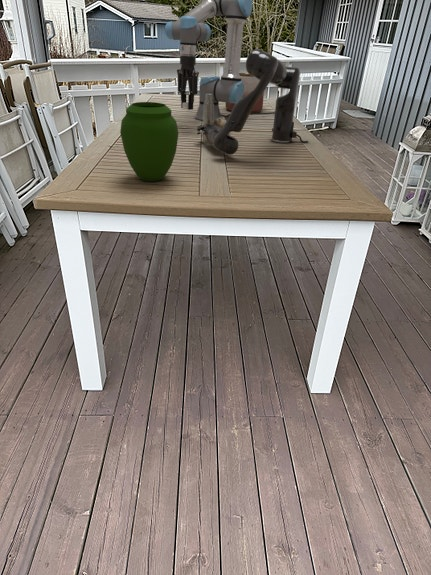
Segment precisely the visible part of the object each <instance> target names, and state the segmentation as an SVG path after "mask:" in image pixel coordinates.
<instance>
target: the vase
mask: <svg viewBox="0 0 431 575" xmlns="http://www.w3.org/2000/svg"><path fill="white" fill-rule="evenodd" d="M125 113H126V114H125V115H124V117H122V119H121V122H120V123H121V124H120V130H119V133H120V138H121V142H122V147H123V150H124V154H125V155H126V158H127V160H128V163H129V165H130V167H131V168H132V170H133V172H134V173H135V175H136V176H137V177H138V178H139V179H141V180H143V181H145V182H159V181H161V180H163V179H164V178H165V176H166V175H167V174H168V173H169V170H170V169H171V167H172V165H173V162H174V159H175V157H176V156H175V155H176V153H177V147H178V140H179V129H178V122H177V120H176V119H175V117H174V116H173V115H172V109H171V108H170V107H169V106H167V105H166V104H164V103H162V102H155V101H138V102H132V103H131V104H130V105H128V107H127V108H125Z"/></svg>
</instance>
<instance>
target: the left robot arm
mask: <svg viewBox="0 0 431 575" xmlns="http://www.w3.org/2000/svg"><path fill="white" fill-rule="evenodd" d="M252 12H253V0H201V2H200V3H199V4H198V5H197V6H195V7H194V8H192V9H191V10H189V11H188V12H187V13H186V14H183V15H182V16H181V17H180V18H179V19H176V21H175V20H174V21H167V22H166V24H165V26H164V33H165V36H166V38H167V39H169V40H173V41H179V54H180V56H179V64H180V65H181V66H180V69H179V68H177V69H176V73H177V92H178V93H180V103H181V104H180V108H181V109H183V108H182V104H183V103H185V102H187V103H188V109H187V111H190V110H194V103H195V95H199V100H198V101H199V103H198V104H199V105H198V107H197V111H196V114H195V119H196V120H199V121H203V104H204V101H205V94H213V98H212V101H213V104H214V113H213V122H214V121H215V120H216V119H218V118H221V117H224V118H227V117H228V118H229V116H230V114H231V113H228V114H227V115H224V114H221V110H220V107H219V105H220V103H225V104H226V103H237V102H238V101H240V100H241V99H242V97H243V94H244V83H243V82H241V77H240V75H239V73H240V67H241V56H242V46H243V34H244V25H245V24H246V23H247V21H248V18H249V17H251V15H252ZM215 16H218V17H219V16H223V17H224V20H225V21H226V23H227V26H226V28H227V29H226V40H225V41H226V42H225V54H224V67H223V68H224V69H223V73H222V75H221V76H206V77H201V78H200V80H199V74H200V72H199V71H197V70H196V69H195V66H196V64H197V57H196V55H197V42H202V43H204V42H207V41H208V40H209V39H210V38H211V34H212V31H211V27H210V26H209V25H208V24H207V23H205V21H207V20H208V19H212V18H214V17H215ZM198 84H199V85H198ZM187 85H188V92H189V94H188V95H187V91H186V90H187ZM198 87H199V88H198ZM198 89H199V94H198ZM219 102H220V103H219ZM268 114H269V115H270V114H275V111H271V112H269V111H267V112H257V113H250V114H249V115H268Z"/></svg>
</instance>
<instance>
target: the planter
mask: <svg viewBox="0 0 431 575" xmlns="http://www.w3.org/2000/svg"><path fill="white" fill-rule="evenodd" d="M239 75H240V77H241V82H243V83H244V94H243V97H242V98H244V97H245V96H246V95H248V94H249V93H250V92H252V91H253V90H254V89H255V87H256V86H257V85H258V83H259V81H260V80H259V79H257V78H256V77H254V76H252V75H250V74H249V73H248V72H239ZM264 95H265V91H264V92H263V94H262V95H261V97H260V98H259V100H258V101H257V103H256V104H255V106H254V107H253V109H252V111H251V113H261V112H262V111H263V108H264ZM235 104H236V103H226V102H225V109H226V110H227V111H229V112H231V111H232V109H233V107H234V106H235Z"/></svg>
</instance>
